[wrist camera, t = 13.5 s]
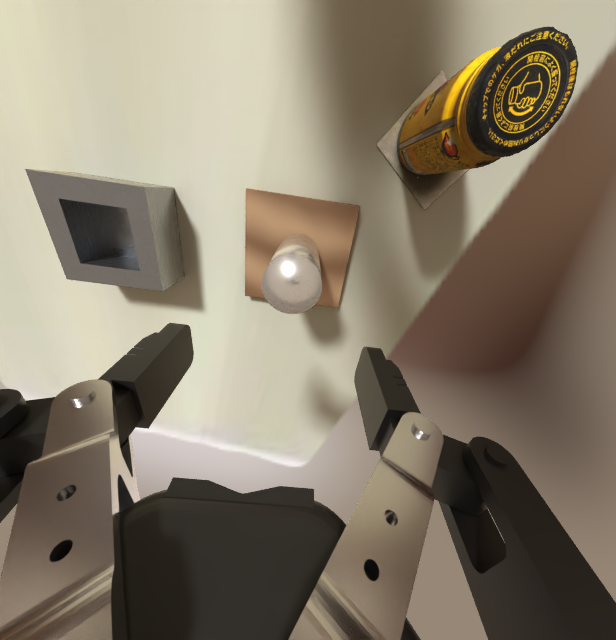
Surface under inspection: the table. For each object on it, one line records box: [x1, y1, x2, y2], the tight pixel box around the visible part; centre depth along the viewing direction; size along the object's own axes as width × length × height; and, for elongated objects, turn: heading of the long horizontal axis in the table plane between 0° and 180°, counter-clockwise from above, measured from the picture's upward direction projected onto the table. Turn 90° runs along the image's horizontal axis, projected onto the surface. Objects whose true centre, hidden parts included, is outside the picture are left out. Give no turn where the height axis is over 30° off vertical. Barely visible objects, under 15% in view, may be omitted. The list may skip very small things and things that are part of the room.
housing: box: [25, 169, 185, 291], centre depth 25 cm, size 10×10×5 cm
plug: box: [261, 234, 322, 314], centre depth 23 cm, size 5×5×10 cm
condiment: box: [376, 27, 578, 210], centre depth 18 cm, size 7×8×12 cm
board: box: [245, 189, 360, 308], centre depth 28 cm, size 12×12×1 cm
